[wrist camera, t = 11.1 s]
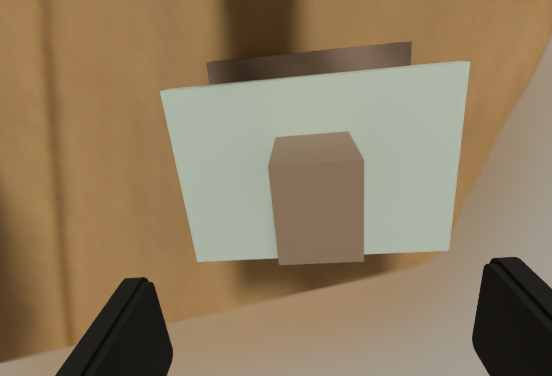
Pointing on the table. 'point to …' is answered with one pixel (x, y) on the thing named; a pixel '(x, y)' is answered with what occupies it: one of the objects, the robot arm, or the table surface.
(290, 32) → the table surface
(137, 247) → the table surface
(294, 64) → the peg stand
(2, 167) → the table surface
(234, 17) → the table surface
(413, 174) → the shelf board
